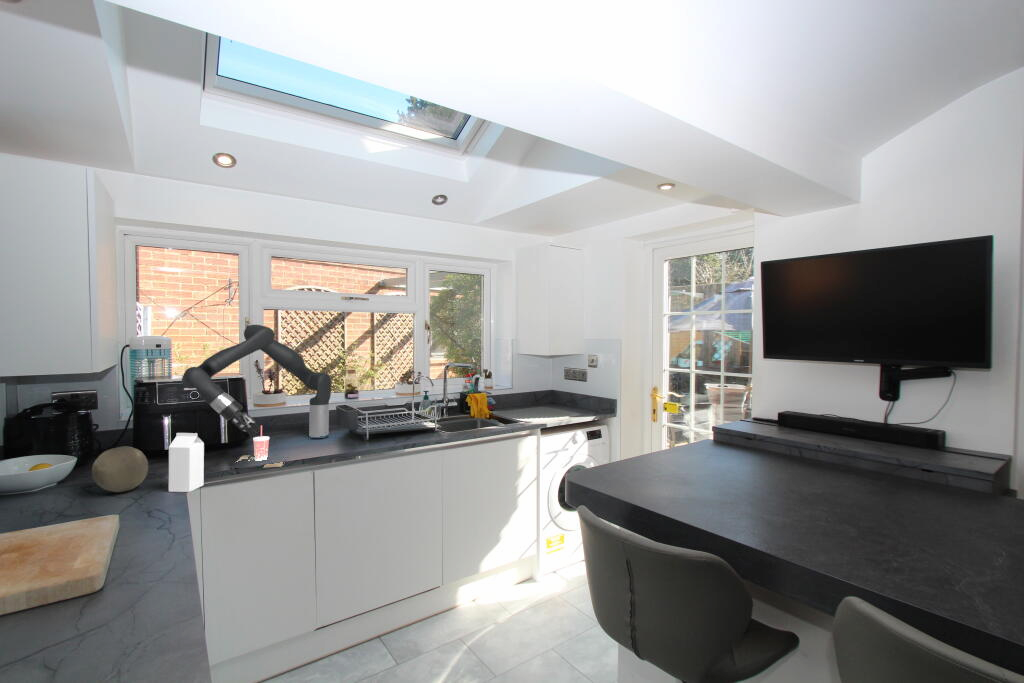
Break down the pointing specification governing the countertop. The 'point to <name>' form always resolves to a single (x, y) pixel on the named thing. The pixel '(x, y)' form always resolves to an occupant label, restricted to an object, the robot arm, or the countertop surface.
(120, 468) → the cantaloupe
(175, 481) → the milk carton
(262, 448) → the beverage cup
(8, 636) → the countertop surface
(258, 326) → the robot arm
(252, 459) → the oak board
